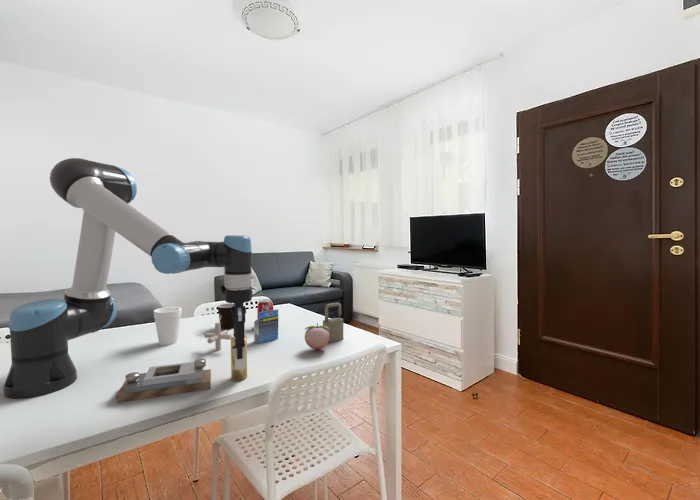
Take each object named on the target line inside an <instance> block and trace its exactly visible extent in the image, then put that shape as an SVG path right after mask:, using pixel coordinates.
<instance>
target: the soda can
mask: <svg viewBox="0 0 700 500" xmlns="http://www.w3.org/2000/svg"><path fill="white" fill-rule="evenodd" d="M256 308H257V311H256V312H257V313H256V314H257V317H256V318H257V319H256V320H258V319H259V312H265V311H271V310H274V303H273V300H272V299H266V298H265V299H260V300H258V304H257V307H256ZM268 315H272V313H271V314H270V313H268V314H266V316H268Z"/></svg>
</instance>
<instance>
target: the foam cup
mask: <svg viewBox="0 0 700 500" xmlns="http://www.w3.org/2000/svg"><path fill="white" fill-rule="evenodd" d="M182 310H183V309H182V307H180V306H179V307H178V306H166V307H165V306H164V307H159V308H156V309H154V310H153V318H154V322H155V323H154V324H155V327H156V329H155V330H156V334H157V338H158V344H159V345H160V346H171V345H175V344H177V343H178V341H179V334H180V325H181V318H182V315H183V313H182Z"/></svg>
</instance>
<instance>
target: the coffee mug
mask: <svg viewBox="0 0 700 500" xmlns="http://www.w3.org/2000/svg"><path fill="white" fill-rule="evenodd" d="M233 305H234V303H222V304H218V305H217V311H218V312H217V313H218V319H219V321H218V322H220V327H221V330H223V331H224V330H227V331H228V330H234V324H233V320H232V311H231V307H233Z"/></svg>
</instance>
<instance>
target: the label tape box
mask: <svg viewBox="0 0 700 500" xmlns="http://www.w3.org/2000/svg"><path fill="white" fill-rule="evenodd" d="M268 313H270V314H271V313H272V315H268V316H266V314H268ZM253 324H254V326H253V328H254V329H253V331H254V332H253V335H254V337H253V338H254V340H253V341H254V342H255V343H257V344H263V343H266V342H269V341H274V340H278V339H279V309H278V308H277V309H273V310H271V311H265V312H259V319H258V320H257V319H256V320H254V323H253Z"/></svg>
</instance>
